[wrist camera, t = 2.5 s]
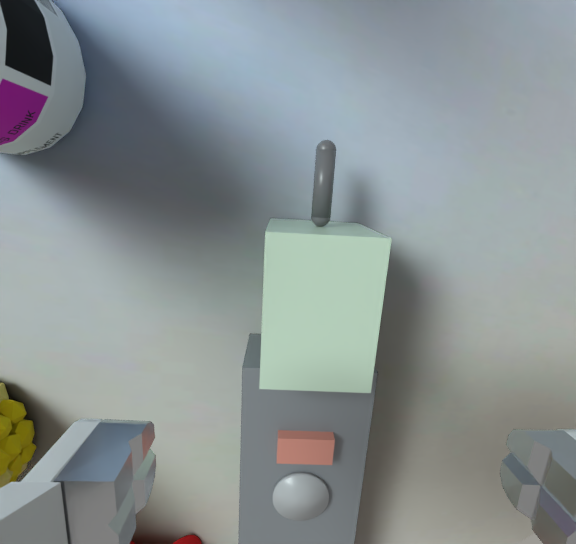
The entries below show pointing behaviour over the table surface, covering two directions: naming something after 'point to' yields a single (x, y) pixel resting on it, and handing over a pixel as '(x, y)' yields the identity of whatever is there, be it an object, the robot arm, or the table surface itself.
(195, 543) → the red lobed rounded piece
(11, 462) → the food
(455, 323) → the table surface
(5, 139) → the supplement can
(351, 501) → the power strip
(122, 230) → the table surface
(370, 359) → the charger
